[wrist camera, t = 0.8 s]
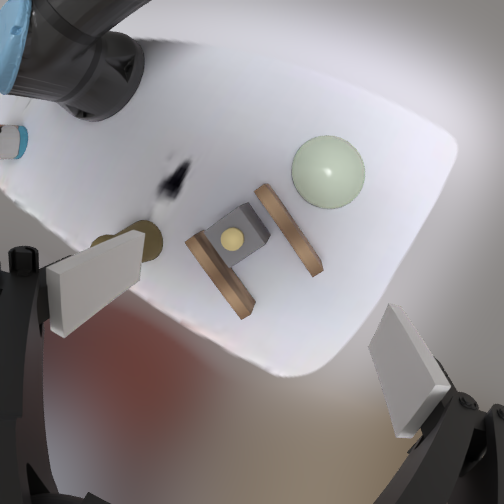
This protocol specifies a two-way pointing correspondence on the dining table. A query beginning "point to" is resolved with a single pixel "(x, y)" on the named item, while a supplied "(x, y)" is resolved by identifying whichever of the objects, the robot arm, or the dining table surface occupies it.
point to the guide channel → (227, 277)
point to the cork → (151, 241)
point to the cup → (12, 141)
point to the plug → (238, 235)
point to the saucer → (328, 172)
